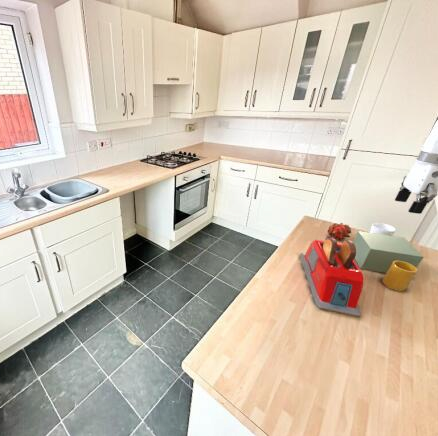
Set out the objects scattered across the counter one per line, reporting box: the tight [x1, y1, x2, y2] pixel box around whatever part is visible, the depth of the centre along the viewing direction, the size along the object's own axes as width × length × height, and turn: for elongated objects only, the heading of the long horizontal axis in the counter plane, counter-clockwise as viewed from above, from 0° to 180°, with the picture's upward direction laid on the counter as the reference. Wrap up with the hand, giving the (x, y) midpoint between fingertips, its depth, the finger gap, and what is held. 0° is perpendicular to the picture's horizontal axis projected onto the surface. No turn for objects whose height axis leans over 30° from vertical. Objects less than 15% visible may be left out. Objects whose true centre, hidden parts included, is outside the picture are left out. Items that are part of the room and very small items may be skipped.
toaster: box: [300, 237, 365, 318], centre depth 89 cm, size 32×13×19 cm, turn 161°
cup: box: [381, 261, 418, 292], centre depth 89 cm, size 6×6×9 cm
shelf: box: [352, 230, 425, 274], centre depth 100 cm, size 16×14×10 cm
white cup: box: [368, 222, 397, 236], centre depth 111 cm, size 8×8×10 cm
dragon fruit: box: [327, 222, 352, 241], centre depth 118 cm, size 8×8×12 cm
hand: (406, 206), depth 85 cm, fingers open, 9 cm apart
